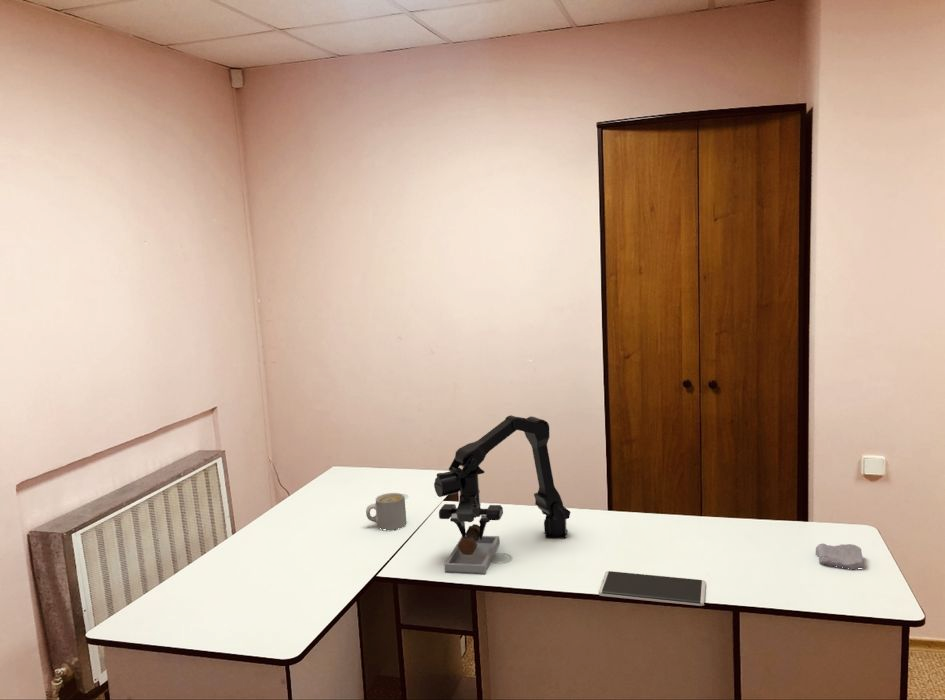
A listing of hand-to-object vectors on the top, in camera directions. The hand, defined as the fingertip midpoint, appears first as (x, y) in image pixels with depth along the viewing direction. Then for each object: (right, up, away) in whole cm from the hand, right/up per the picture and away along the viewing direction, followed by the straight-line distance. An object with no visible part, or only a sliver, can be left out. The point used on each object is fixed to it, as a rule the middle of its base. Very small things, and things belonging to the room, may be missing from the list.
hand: (472, 538), depth 226 cm
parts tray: (0, -6, +1) cm, 6 cm away
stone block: (+103, -3, -17) cm, 105 cm away
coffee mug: (-30, -4, +31) cm, 43 cm away
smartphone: (+48, -8, -26) cm, 55 cm away
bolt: (0, -2, 0) cm, 2 cm away
